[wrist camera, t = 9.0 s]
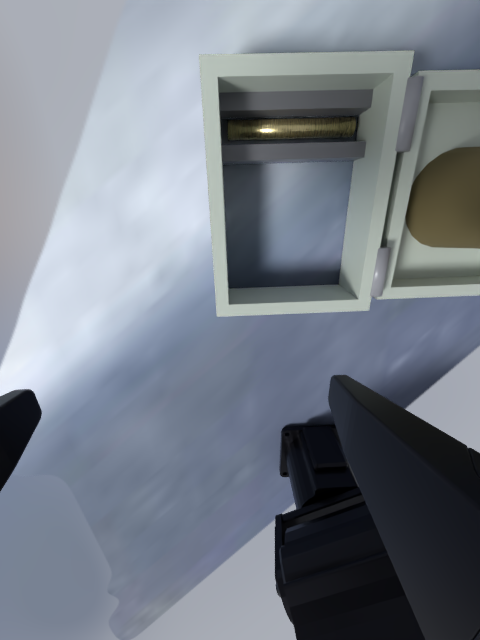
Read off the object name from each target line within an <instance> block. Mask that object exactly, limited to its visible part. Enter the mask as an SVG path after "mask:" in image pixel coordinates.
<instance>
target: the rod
mask: <svg viewBox="0 0 480 640" xmlns="http://www.w3.org/2000/svg"><path fill="white" fill-rule="evenodd" d="M227 122H228V140H262V139H300V138H337V137H352V136H353V134H354V132H355V128H356V118H355V117H334V118H293V119H253V120H227Z"/></svg>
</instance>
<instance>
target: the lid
mask: <svg viewBox="0 0 480 640" xmlns="http://www.w3.org/2000/svg"><path fill="white" fill-rule="evenodd" d="M414 76H423V77H424V81H423V87H422V92H421V97H420V102H419V107H418V113H417V118H416V123H415V128H414V133H413V139H412V144H411V149H410V151H409V152H404V153H397V154H396V159H395V165H394V171H393V176H392V182H391V188H390V193H389V199H388V205H387V210H386V216H385V222H384V227H383V233H382V239H381V245H380V246H385V247H391V253H390V258H389V263H388V268H387V273H386V279H385V284H384V289H383V294H382V296H381V297H374V298H376V299H399V298H424V297H449V296H475V295H480V249H475V248H439V247H430V246H427V245H424V244H421V243H419V242H418V241H417V240H416V239H415V238H414V237H413V236H412V235H411V233H410V231H409V229H408V227H407V225H406V219H405V216H406V211H407V206H408V201H409V196H410V191H411V186H412V184H413V182H414V180H415V178H416V177H417V176H418V175H419V173H420V172H421V171H422V170H423V169H424V167H425V166H426V165H427V164H428V163H429V162H431V161H432V160H434V159H435V158H436V157H438V156H439V155H440V154H442V153H444V152H447V151H450V150H452V149H455V148H461V147H480V69H478V70H430V71H418V72H417V73H415V74H414V75H412V76H411V77H414Z"/></svg>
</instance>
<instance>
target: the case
mask: <svg viewBox="0 0 480 640" xmlns="http://www.w3.org/2000/svg"><path fill="white" fill-rule="evenodd" d="M414 51H415V50H413V51H360V52H308V53H256V54H204V55H199V63H200V77H201V92H202V107H203V121H204V136H205V150H206V165H207V179H208V194H209V209H210V223H211V238H212V252H213V267H214V281H215V296H216V311H217V317H223V316H247V315H272V314H297V313H321V312H346V311H369V307H370V301H371V297H381V296H382V294H383V289H384V284H385V279H386V273H387V268H388V263H389V258H390V253H391V247H385V246H380V245H381V239H382V233H383V227H384V222H385V216H386V210H387V205H388V199H389V193H390V188H391V182H392V176H393V171H394V165H395V159H396V154H397V153H404V152H409V151H410V149H411V144H412V139H413V133H414V128H415V123H416V118H417V113H418V107H419V102H420V97H421V92H422V87H423V81H424V77H423V76H414V77H410V74H411V68H412V63H413V57H414ZM351 115H359V121H358V129H357V137H356V142H322V143H284V144H246V145H222V135H221V119H228V118H269V117H310V116H351ZM331 161H354V162H353V170H352V178H351V186H350V194H349V203H348V211H347V219H346V227H345V235H344V243H343V252H342V260H341V268H340V276H339V284H337V285H311V286H285V287H259V288H233V289H229V283H228V262H227V241H226V220H225V199H224V178H223V165H225V164H261V163H296V162H331Z"/></svg>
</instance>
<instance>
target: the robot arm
mask: <svg viewBox="0 0 480 640" xmlns="http://www.w3.org/2000/svg"><path fill="white" fill-rule="evenodd" d="M328 401H329V406H330V409H331V412H332V415H333V419H334V422H335V425H324V426H304V427H286V428H283V429H282V431H281V450H280V475H281V476H282V477H290V482H291V487H292V491H293V496H294V500H295V505H296V510H294V511H291V512H288V513H286V514H279V515H276V517H275V524H276V526H275V579H276V590H277V593H278V595H279V596H280V597H281V599H282V602H283V605H284V608H285V610H286V613H287V615H288V617H289V619H290V621H291V622H292V623H293V625H294V628H295V633H296V639H297V640H480V453H479V452H477V451H475V450H474V449H472V448H467V446H466V445H465V444H463V443H461V442H460V441H458V440H456V439H455V438H453V437H451V436H449V435H448V434H446V433H444V432H443V431H441V430H439V429H437V428H436V427H434V426H432V425H431V424H429V423H427V422H425V421H424V420H422V419H420V418H419V417H417V416H415V415H413V414H412V413H410V412H408V411H407V410H405V409H403V408H402V407H400V406H398V405H396V404H395V403H393V402H391V401H390V400H388V399H386V398H385V397H383V396H381V395H379V394H378V393H376V392H374V391H373V390H371V389H369V388H367V387H366V386H364V385H362V384H361V383H359V382H357V381H355V380H354V379H352V378H350V377H349V376H347V375H333V376H332V377H331V381H330V388H329V396H328ZM41 414H42V412H41V408H40V406H39V403H38V401H37V399H36V396H35V394H34V392H33V391H32V390H29V389H22V390H14V391H11V392H9V393H7V394H5V395H3V396H0V491H1V490H2V488H3V486H4V485H5V483H6V482H7V480H8V479H9V477H10V475H11V474H12V472H13V470H14V469H15V467H16V465H17V463H18V461H19V460H20V458H21V456H22V454H23V452H24V450H25V448H26V446H27V444H28V442H29V440H30V438H31V436H32V434H33V432H34V431H35V429H36V427H37V425H38V423H39V421H40V419H41ZM287 432H288V433H287Z"/></svg>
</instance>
